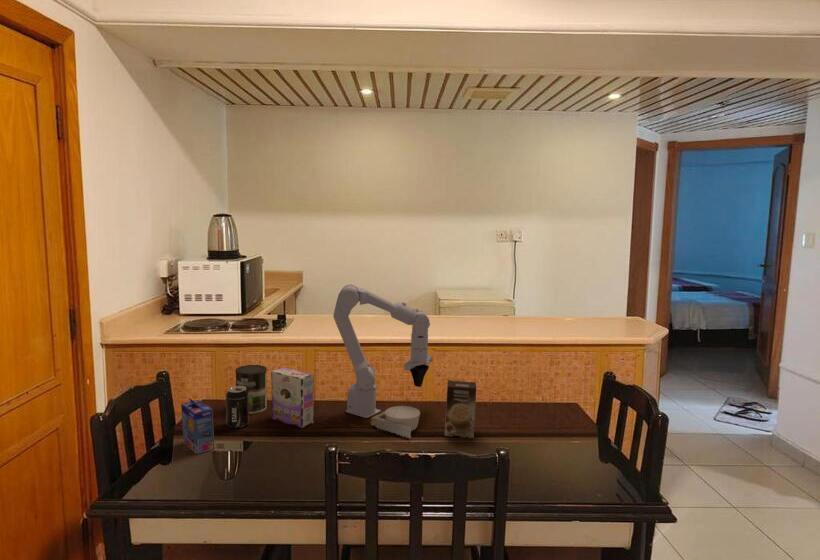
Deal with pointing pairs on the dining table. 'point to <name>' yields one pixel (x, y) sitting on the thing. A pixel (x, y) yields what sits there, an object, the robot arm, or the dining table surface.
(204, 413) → the ink cartridge box
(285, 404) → the candy box
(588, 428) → the dining table surface
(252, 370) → the coffee can
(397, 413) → the ramekin
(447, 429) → the coffee box
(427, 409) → the dining table surface
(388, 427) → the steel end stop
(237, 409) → the beverage can
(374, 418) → the oak rail
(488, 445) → the dining table surface
